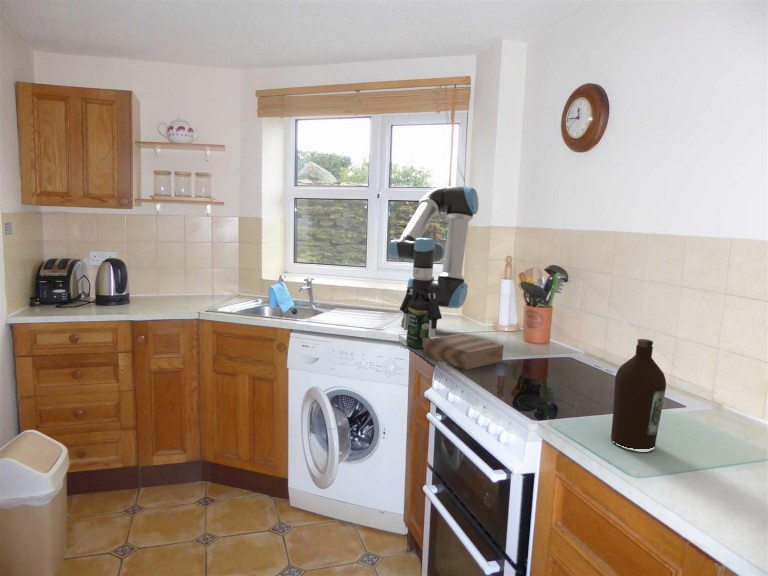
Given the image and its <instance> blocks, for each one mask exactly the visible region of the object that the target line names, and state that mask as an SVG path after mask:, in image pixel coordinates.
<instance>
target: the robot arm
mask: <svg viewBox="0 0 768 576" xmlns="http://www.w3.org/2000/svg"><path fill="white" fill-rule="evenodd" d="M478 211H479V197H478V192H477V190H476V189H475V188H474V187H470V186H448V185H447V186H446V185H441V186H437V187H435V188H433V189H431V190H429V191H428V192H427V193H425V195H423V196H422V197H421V199H420V200H419V202H418V204H417V209H416V210H415V213H414V214H413V215H412V217H411V219H410V221H409V222H408V224H407V226H406V227H405V229H404V231H403V232H402V234H401V236H400V237H399V238H398V239H392V240H390V242H389V243H388V247H387V250H388V255H389V256H390V258H392V259H397V260H411V261H413V268H412V276H411V277H409V278H408V281H407V287H406V294H405V296H404V298H403V301H402V303H401V304H400V308H399V311H401V312H402V313H403V317H402V319H401V325H400V326H402V328H403V330H404V331H408V320H409V310H408V307H409V301H410V300H421V301H423V302H425V301H429V302H431V305H429V304H427V311H428V313H429V315H430V318H431V320H429V335H428V337H430V338H433V337H434V338H436V337H435V336H436V329H437V326H438V320H441V319H442V318H443V317H442V314H441V310H440V308H446V309H447V308H448V309H460V308H461V307H462V306H463V305H464V303H465V301H466V298H467V295H468V284H467V283H466V282H465V278H464V276H463V275H462V274H463V267H464V259H465V252H466V244H467V234H468V229H469V228H468V227H469V222H470V221H471V220H473V216H474V215H476V214H478ZM438 213H446V214H445V215H446V217H447V219H448V227H447V235H446V241H445V247H444V245H443V244H441V243H439V242H436V241H435V240H434V239H433V238H428V237H423V235H424V233H425V231H426V229H427V228H428V227H429V224H430V223H431V220H432V219H433V218H434V217H436V216H438ZM441 260H443V265H442V271H441V273H440V274H439V275H438V276H437V279H435V277H434V275H433V274H434V273H433V272H434V263H436V262H439V261H441Z"/></svg>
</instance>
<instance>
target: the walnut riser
mask: <svg viewBox="0 0 768 576" xmlns="http://www.w3.org/2000/svg"><path fill="white" fill-rule="evenodd" d="M423 356H424V357H427V358H429V359H433V360H436V361H439V362H441V361H444V362H447V363H449V364H448V365H450V366H453V367H457V368H461V369H463V370H466V371H468V370H472V369H475V368H480V367H484V366H488V365H492V364H497V363H501V362H503V358H504V344H502V343H498V342H493V341H490V340H487V339H482V338H478V337H474V336H471V335H468V334H463V333H456V334H451V335H446V336H438V337H434V338H433V337H431V338H430V339H426V340H425V346H424V349H423ZM444 362H443V363H444ZM447 363H446V364H447Z"/></svg>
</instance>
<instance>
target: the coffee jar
mask: <svg viewBox="0 0 768 576" xmlns="http://www.w3.org/2000/svg"><path fill="white" fill-rule="evenodd" d="M427 304H429V305H431V302H429V301H425V302H423V301H421V300H410V301H409V307H408V310H409V320H408V330H406V331H407V332H406V345H408V346H409V347H411V348H413V349H421V350H424V346H425V340H426V339H431V337H428V335H429V320H431V318H430V315H429V313H428V311H427Z"/></svg>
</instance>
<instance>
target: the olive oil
mask: <svg viewBox="0 0 768 576" xmlns="http://www.w3.org/2000/svg"><path fill="white" fill-rule="evenodd" d="M653 345H654V341H653V340H651V339H648V338H647V339H646V338H638V339H637V344H636V348H635V355H633V357H631V358H630V359H628V360H627V361H626V362H624V363H623V364H621V366H619V368H618V369H617V372H616V374H615V378H614V391H613V392H614V393H613V405H612V407H613V408H612V409H613V410H612V422H611V433H610V440H611V439H612V441H614V442H615V443H617V444H619V445H621V446H624V447H627V448H633V449H650V448H653V447H655V448H656V444H657V438H658V437H657V436H658V432H659V426H660V422H661V416H662V410H663V405H664V400H665V395H666V390H667V381H666V377H665V373H664V372H663V371H662V369H661V368H660V367H659V366H658V364H657V363H656V362H655V361H654V360H655V359H653V355H652V354H653V351H654V350H653V348H654V347H653ZM612 441H611V442H612Z"/></svg>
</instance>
